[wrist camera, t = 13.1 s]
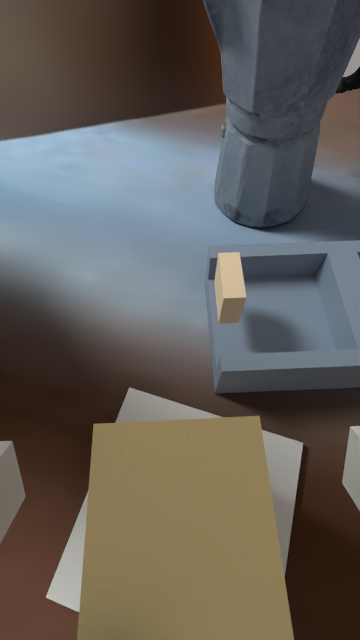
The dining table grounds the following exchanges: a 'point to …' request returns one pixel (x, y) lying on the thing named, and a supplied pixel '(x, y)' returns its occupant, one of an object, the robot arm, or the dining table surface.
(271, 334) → the grey divided tray
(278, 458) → the white square mat
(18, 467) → the robot arm
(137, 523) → the tan cardboard box
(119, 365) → the dining table surface
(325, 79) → the moka pot
